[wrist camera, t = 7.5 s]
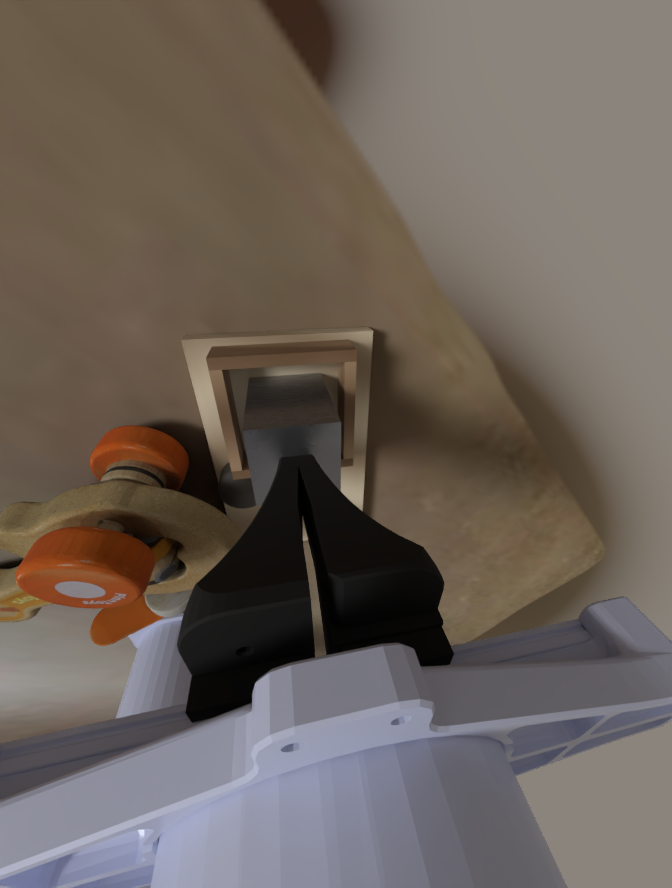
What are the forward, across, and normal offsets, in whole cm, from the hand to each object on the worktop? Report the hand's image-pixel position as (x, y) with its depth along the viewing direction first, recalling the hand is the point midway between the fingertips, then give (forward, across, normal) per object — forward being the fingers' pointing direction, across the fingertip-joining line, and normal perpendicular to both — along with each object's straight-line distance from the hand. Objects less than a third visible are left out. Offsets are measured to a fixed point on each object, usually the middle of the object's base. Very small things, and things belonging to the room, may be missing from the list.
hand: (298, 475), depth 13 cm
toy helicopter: (+4, +16, +4) cm, 17 cm away
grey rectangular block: (+7, 0, 0) cm, 7 cm away
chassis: (+8, 0, +4) cm, 9 cm away
